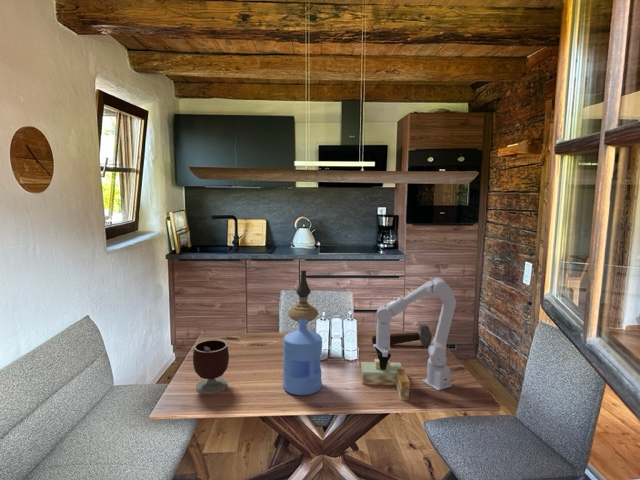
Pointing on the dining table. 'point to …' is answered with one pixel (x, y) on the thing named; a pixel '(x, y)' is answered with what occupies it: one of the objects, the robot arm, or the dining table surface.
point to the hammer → (411, 336)
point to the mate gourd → (211, 365)
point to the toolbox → (386, 383)
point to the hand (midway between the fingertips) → (382, 366)
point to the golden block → (403, 378)
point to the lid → (374, 368)
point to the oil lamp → (303, 303)
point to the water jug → (302, 361)
